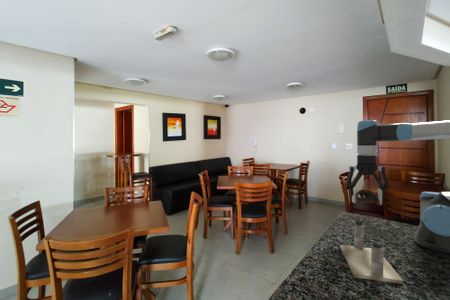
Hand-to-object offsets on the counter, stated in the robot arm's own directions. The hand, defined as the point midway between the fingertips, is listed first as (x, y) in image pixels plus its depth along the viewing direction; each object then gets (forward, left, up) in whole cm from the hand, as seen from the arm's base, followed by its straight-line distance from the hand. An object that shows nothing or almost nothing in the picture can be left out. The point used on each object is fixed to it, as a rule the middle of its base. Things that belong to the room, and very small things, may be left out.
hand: (366, 203), depth 100 cm
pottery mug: (0, 0, -1) cm, 1 cm away
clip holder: (+6, +21, -17) cm, 28 cm away
